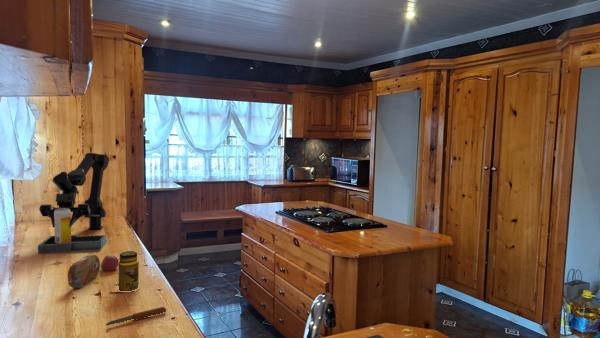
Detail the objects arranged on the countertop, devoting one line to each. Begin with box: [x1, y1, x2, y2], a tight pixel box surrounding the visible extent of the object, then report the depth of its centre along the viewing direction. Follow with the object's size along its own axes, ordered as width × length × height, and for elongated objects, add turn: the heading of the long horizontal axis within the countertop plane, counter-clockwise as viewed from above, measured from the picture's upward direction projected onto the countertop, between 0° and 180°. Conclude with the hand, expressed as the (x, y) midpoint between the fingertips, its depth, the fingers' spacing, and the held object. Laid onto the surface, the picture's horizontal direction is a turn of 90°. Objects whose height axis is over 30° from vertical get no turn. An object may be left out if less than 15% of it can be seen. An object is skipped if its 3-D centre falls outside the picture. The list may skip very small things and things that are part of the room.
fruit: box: [100, 254, 120, 273], centre depth 143 cm, size 6×6×8 cm
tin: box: [67, 254, 101, 289], centre depth 130 cm, size 15×3×8 cm, turn 179°
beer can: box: [53, 208, 72, 244], centre depth 166 cm, size 6×6×15 cm
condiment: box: [114, 250, 142, 291], centre depth 126 cm, size 7×8×12 cm
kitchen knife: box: [105, 306, 167, 326], centre depth 106 cm, size 16×1×2 cm, turn 128°
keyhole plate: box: [37, 234, 108, 255], centre depth 168 cm, size 15×23×4 cm, turn 107°
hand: (61, 226), depth 165 cm, fingers closed on beer can, 6 cm apart
